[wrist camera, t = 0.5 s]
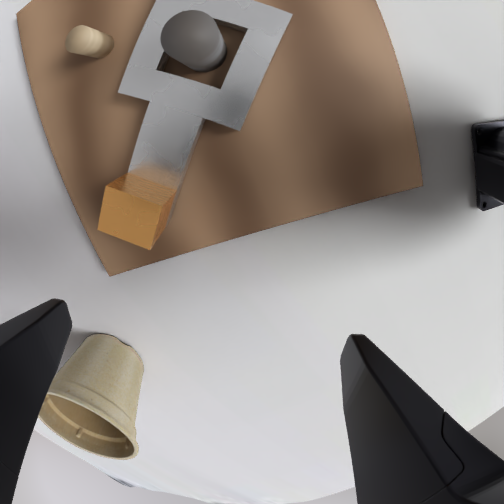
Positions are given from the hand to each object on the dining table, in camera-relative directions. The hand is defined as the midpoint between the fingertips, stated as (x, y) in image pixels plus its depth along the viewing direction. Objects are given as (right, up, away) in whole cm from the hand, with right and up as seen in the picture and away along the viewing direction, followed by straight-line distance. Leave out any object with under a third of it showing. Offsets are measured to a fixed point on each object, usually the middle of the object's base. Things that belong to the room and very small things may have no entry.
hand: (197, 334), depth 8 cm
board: (-2, +13, +7) cm, 15 cm away
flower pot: (-11, -7, +17) cm, 22 cm away
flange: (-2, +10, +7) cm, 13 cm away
